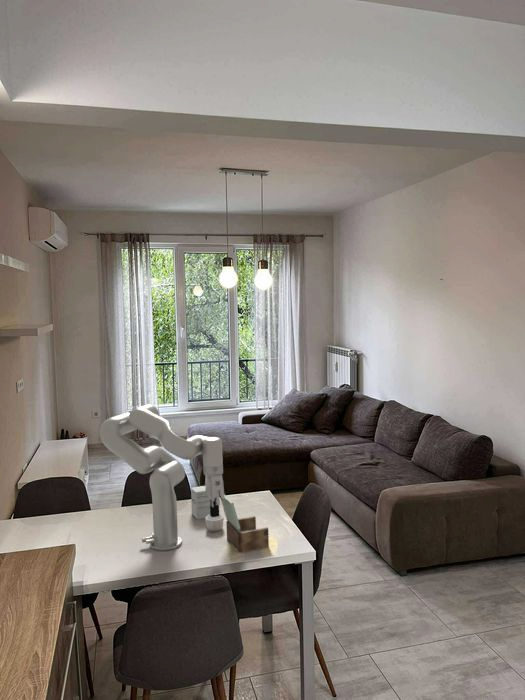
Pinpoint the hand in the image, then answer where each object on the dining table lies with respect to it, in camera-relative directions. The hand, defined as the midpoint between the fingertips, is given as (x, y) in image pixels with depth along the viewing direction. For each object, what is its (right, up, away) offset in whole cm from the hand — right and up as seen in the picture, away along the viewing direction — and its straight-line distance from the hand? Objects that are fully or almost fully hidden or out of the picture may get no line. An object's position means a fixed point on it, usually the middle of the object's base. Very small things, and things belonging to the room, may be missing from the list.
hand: (214, 516), depth 213 cm
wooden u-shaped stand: (+12, -13, +7) cm, 19 cm away
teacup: (-2, -13, +23) cm, 26 cm away
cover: (+6, +1, +4) cm, 7 cm away
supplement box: (-9, -12, +38) cm, 41 cm away
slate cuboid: (+12, -13, +9) cm, 20 cm away
